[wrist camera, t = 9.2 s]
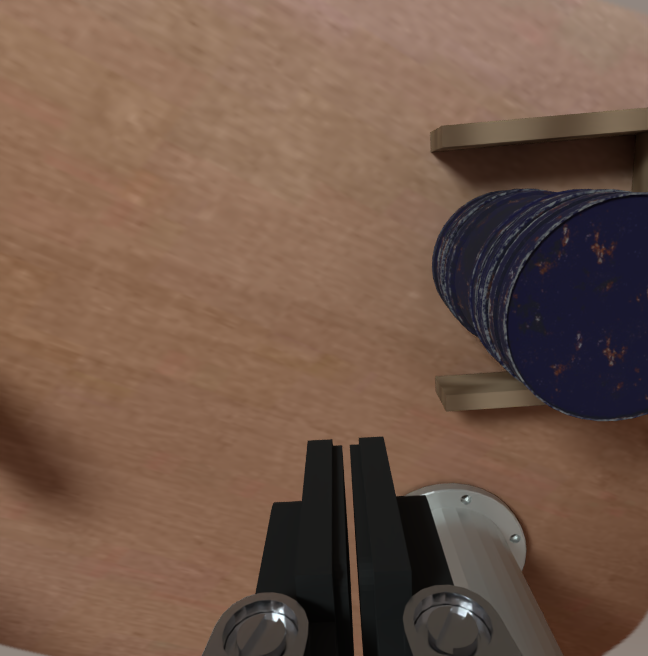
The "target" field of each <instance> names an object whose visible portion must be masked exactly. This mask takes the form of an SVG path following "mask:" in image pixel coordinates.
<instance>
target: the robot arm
mask: <svg viewBox="0 0 648 656" xmlns="http://www.w3.org/2000/svg"><path fill="white" fill-rule="evenodd" d="M350 456H351V473H352V489H353V506H354V522H355V539H356V555H357V570H358V585H359V600H360V615H361V630H362V644H363V656H563V654H562V652H561V650H560V648H559V646H558V644H557V642H556V640H555V638H554V636H553V634H552V632H551V630H550V628H549V626H548V624H547V622H546V619H545V617H544V614H543V612H542V611H541V609H540V607H539V605H538V603H537V601H536V599H535V597H534V595H533V593H532V591H531V589H530V587H529V585H528V583H527V581H526V579H525V577H524V575H523V573H522V570H523V567H524V564H525V559H526V551H527V550H526V541H525V536H524V533H523V530H522V528H521V525H520V524H519V522H518V520H517V518H516V517H515V515H514V513H513V512H512V511H511V510H510V508H509V507H508V506H507V505H506V504H505V503H504V502H503V501H501V500H500V499H499V498H498V497H496V496H495V495H493V494H491V493H489V492H487V491H485V490H484V489H481V488H477V487H474V486H471V485H465V484H457V483H447V484H436V485H431V486H427V487H423V488H421V489H418V490H415V491H413V492H410V493H409V494H407V495H405V496H396V494H395V490H394V485H393V480H392V475H391V471H390V466H389V461H388V456H387V452H386V447H385V442H384V438H383V437H367V438H359V444H358V445H350ZM202 656H354V644H353V623H352V602H351V581H350V560H349V543H348V528H347V513H346V498H345V482H344V467H343V452H342V445H340V446H333V442H332V439H330V440H311V441H308V444H307V454H306V464H305V474H304V485H303V495H302V501H294V502H274V503H273V506H272V510H271V515H270V520H269V525H268V531H267V536H266V541H265V546H264V552H263V557H262V562H261V567H260V572H259V578H258V583H257V588H256V593H255V594H254V595H251V596H248V597H245V598H243V599H241V600H240V601H238V602H236V603H234V604H233V605H232V606H231V607H230V608H229V609H227V610H226V611H225V612H224V613H223V614H222V616H221V617H220V619H219V620H218V622H217V624H216V625H215V627H214V629H213V632H212V634H211V636H210V638H209V641H208V643H207V645H206V648H205V650H204V652H203V654H202Z"/></svg>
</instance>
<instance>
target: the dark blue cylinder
mask: <svg viewBox="0 0 648 656" xmlns="http://www.w3.org/2000/svg"><path fill="white" fill-rule="evenodd" d="M432 272H433V279H434V283H435V286H436V289H437V291H438V293H439V295H440V297H441V299H442V300H443V301H444V303H445V304H446V306H447V307H448V308H449V310H450V311H451V312H452V314H453V315H454V316H455V317H456V318H457V319H458V320H459V321H460V323H461V324H462V325H463V326H464V327H465V328H466V329H467V330H468V331H470V332H471V333H472V334H474V335H475V336H477V337H478V338H479V339H480V341H481V342H482V344H483V345H484V347H485V348H486V349H487V351H488V352H489V353H490V354H491V355H492V356H493V357H494V358H495V359H496V360H497V361H498V362H499V363H500V364H501V365H502V366H503V367H504V368H505V369H506V370H507V371H508V372H509V373H510V374H511V375H512V376H513V377H514V378H516V379H517V380H519V381H520V382H522V383H523V384H524V385H525V386H526V387H527V388H528V389H529V390H530V391H531V392H532V393H533V394H534V395H535V396H536V397H537V398H538V399H540V400H541V401H542V402H544V403H545V404H547V405H548V406H550V407H551V408H553V409H555V410H558V411H560V412H562V413H564V414H566V415H570V416H573V417H577V418H580V419H587V420H594V421H618V420H624V419H631V418H636V417H639V416H642V415H646V414H648V192H629V191H622V190H615V189H597V190H592V189H572V190H567V191H561V192H551V191H546V190H539V189H512V190H507V191H496V192H490V193H487V194H484V195H481V196H479V197H477V198H475V199H473V200H471V201H469V202H467V203H466V204H465V205H463V206H462V207H461V208H459V209H458V210H457V211H456V212H455V213H454V214H453V215H452V216H451V217H450V219H449V220H448V221H447V223H446V224H445V225H444V227H443V228H442V230H441V232H440V234H439V236H438V238H437V241H436V244H435V247H434V252H433V257H432Z"/></svg>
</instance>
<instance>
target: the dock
mask: <svg viewBox="0 0 648 656" xmlns="http://www.w3.org/2000/svg"><path fill="white" fill-rule="evenodd" d="M632 134H636V146H635V157H634V169H633V180H632V192H648V108H637V109H626V110H615V111H604V112H592V113H581V114H570V115H558V116H547V117H536V118H525V119H513V120H502V121H491V122H479V123H468V124H457V125H446V126H441V127H439V128H437V129H436V130H434V131H432V132H431V133H430V141H431V152H436V151H447V150H459V149H470V148H482V147H493V146H505V145H516V144H528V143H539V142H551V141H562V140H574V139H585V138H597V137H609V136H620V135H632ZM435 382H436V393H437V395H438V397H439V399H440V401H441V403H442V404H443V406H444V408H445V410H446V411H461V410H476V409H490V408H505V407H520V406H535V405H547V404H545V403H544V402H542V401H541V400H540V399H538V398H537V397H536V396H535V395H534V394H533V393H532V392H531V391H530V390H529V389H528V388H527V387H526V386H525V385H524V384H523V383H522V382H520V381H519V380H517V379H516V378H514V377H513V376H512V375H511V374H510V373H509V372H494V373H480V374H466V375H451V376H437V377H435Z"/></svg>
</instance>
